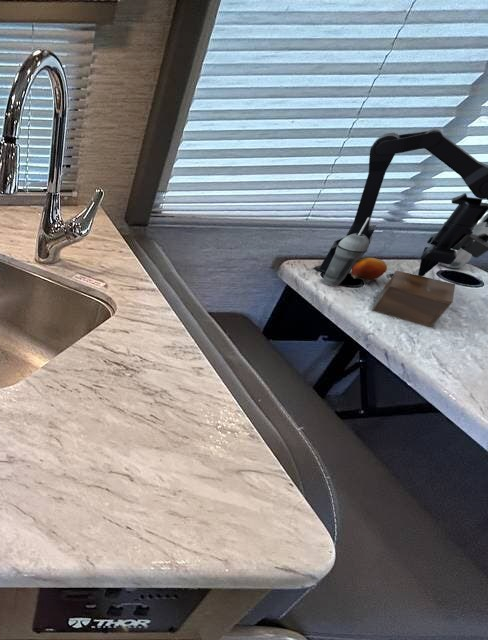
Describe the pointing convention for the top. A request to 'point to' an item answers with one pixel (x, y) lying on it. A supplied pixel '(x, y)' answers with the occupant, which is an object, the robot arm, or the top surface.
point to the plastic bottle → (462, 255)
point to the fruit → (368, 269)
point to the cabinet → (415, 298)
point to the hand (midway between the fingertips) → (420, 275)
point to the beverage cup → (346, 257)
